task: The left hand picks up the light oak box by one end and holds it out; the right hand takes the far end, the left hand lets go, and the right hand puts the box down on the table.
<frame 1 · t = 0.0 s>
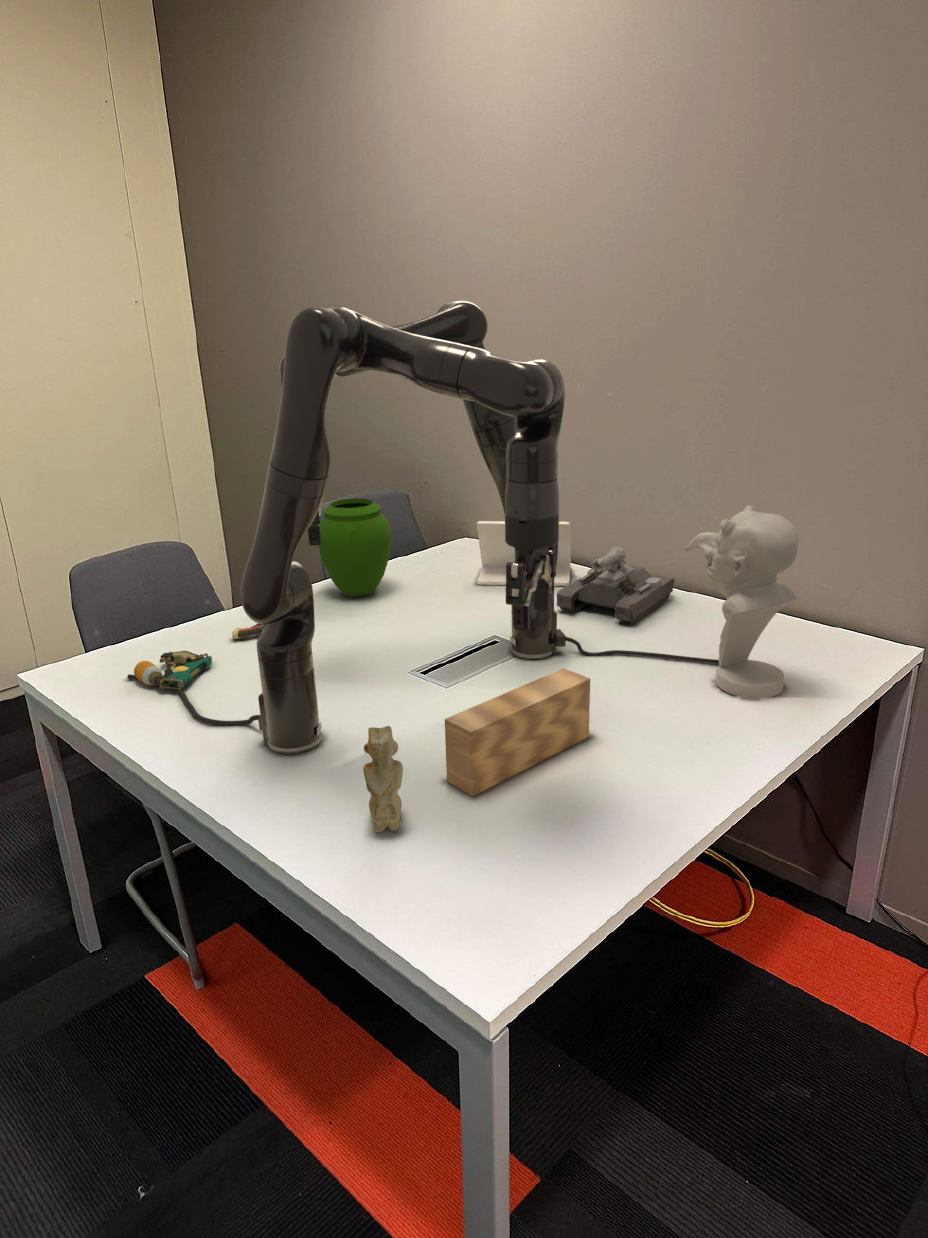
left hand: (531, 619, 124), 29 cm above the table, tool pointing down, fingers open, 8 cm apart
right hand: (314, 539, 170), 29 cm above the table, tool pointing down, fingers open, 8 cm apart
sculpture: (386, 823, 128), on the table
spray gun: (177, 676, 181), on the table
vase: (358, 593, 229), on the table
box: (521, 758, 145), on the table
toy: (615, 605, 214), on the table
tablet stand: (525, 575, 239), on the table
toy gun: (266, 627, 206), on the table
bust sculpture: (730, 681, 171), on the table
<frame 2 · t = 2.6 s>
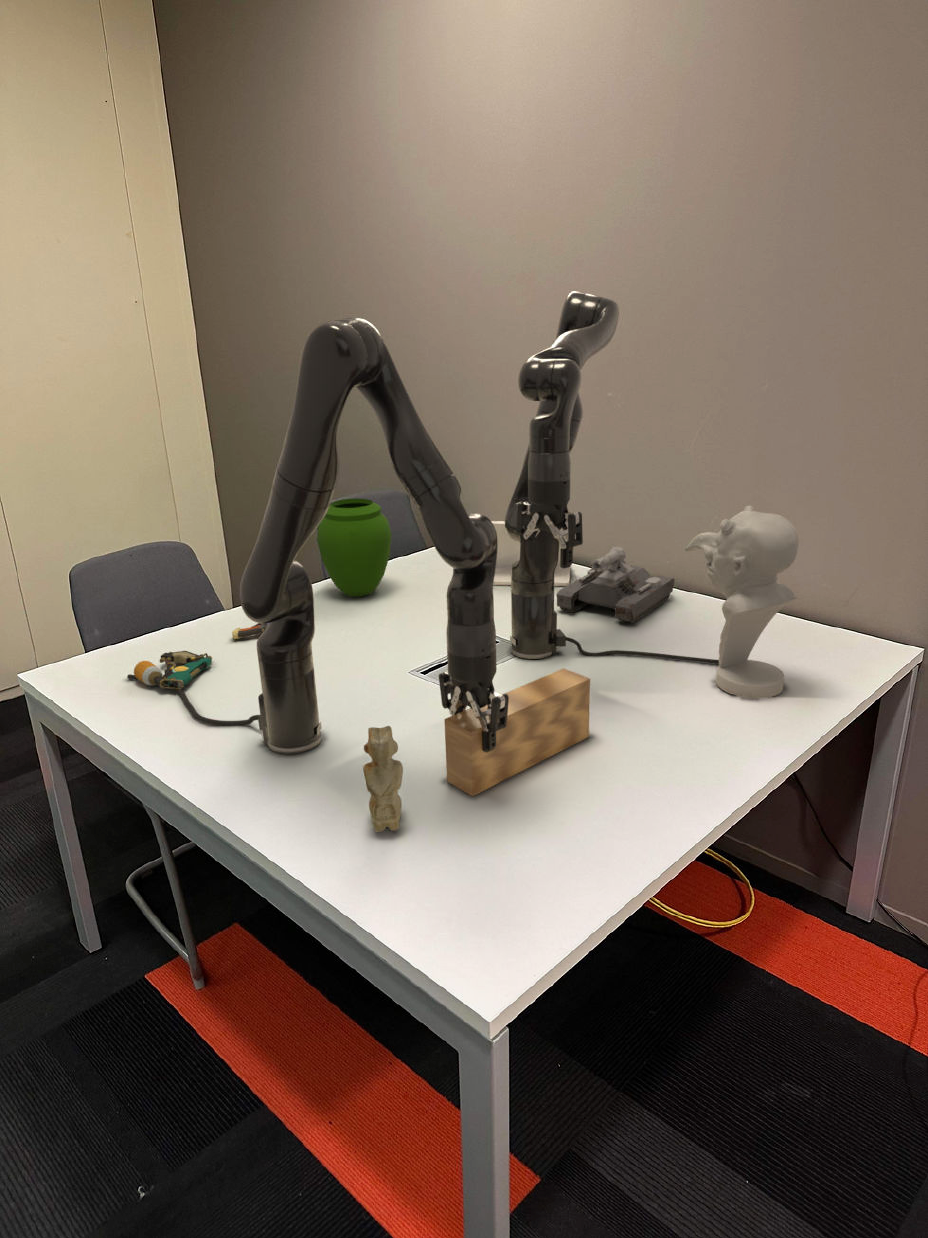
left hand: (474, 742, 136), 7 cm above the table, tool pointing down, fingers closed on box, 6 cm apart
right hand: (548, 562, 158), 27 cm above the table, tool pointing down, fingers open, 8 cm apart
box: (520, 758, 145), on the table, touching left hand
everything else where it was.
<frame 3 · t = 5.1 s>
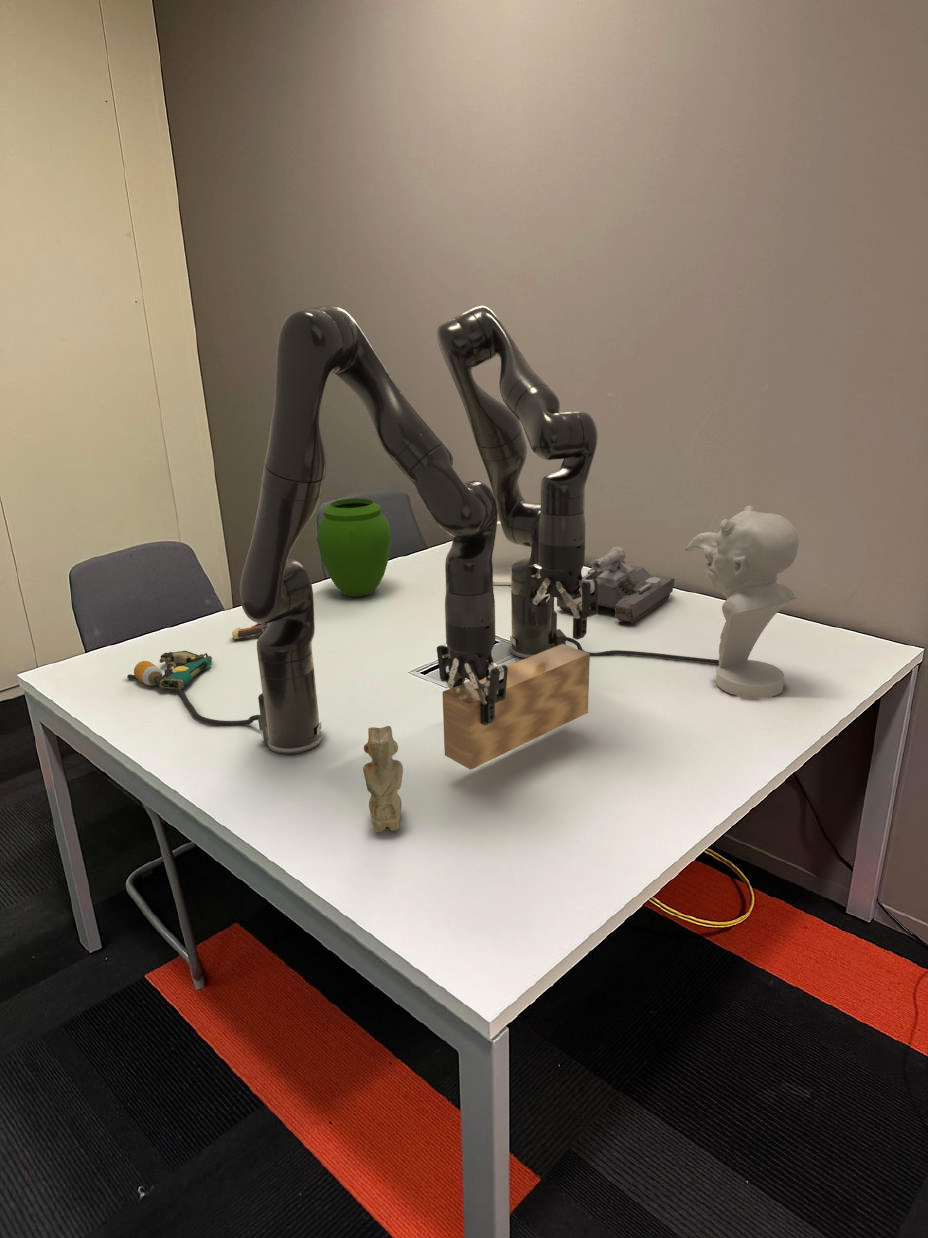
left hand: (472, 715, 134), 12 cm above the table, tool pointing down, fingers closed on box, 6 cm apart
right hand: (560, 631, 144), 20 cm above the table, tool pointing down, fingers open, 8 cm apart
box: (519, 733, 143), point 5 cm above the table, touching left hand
everything else where it was.
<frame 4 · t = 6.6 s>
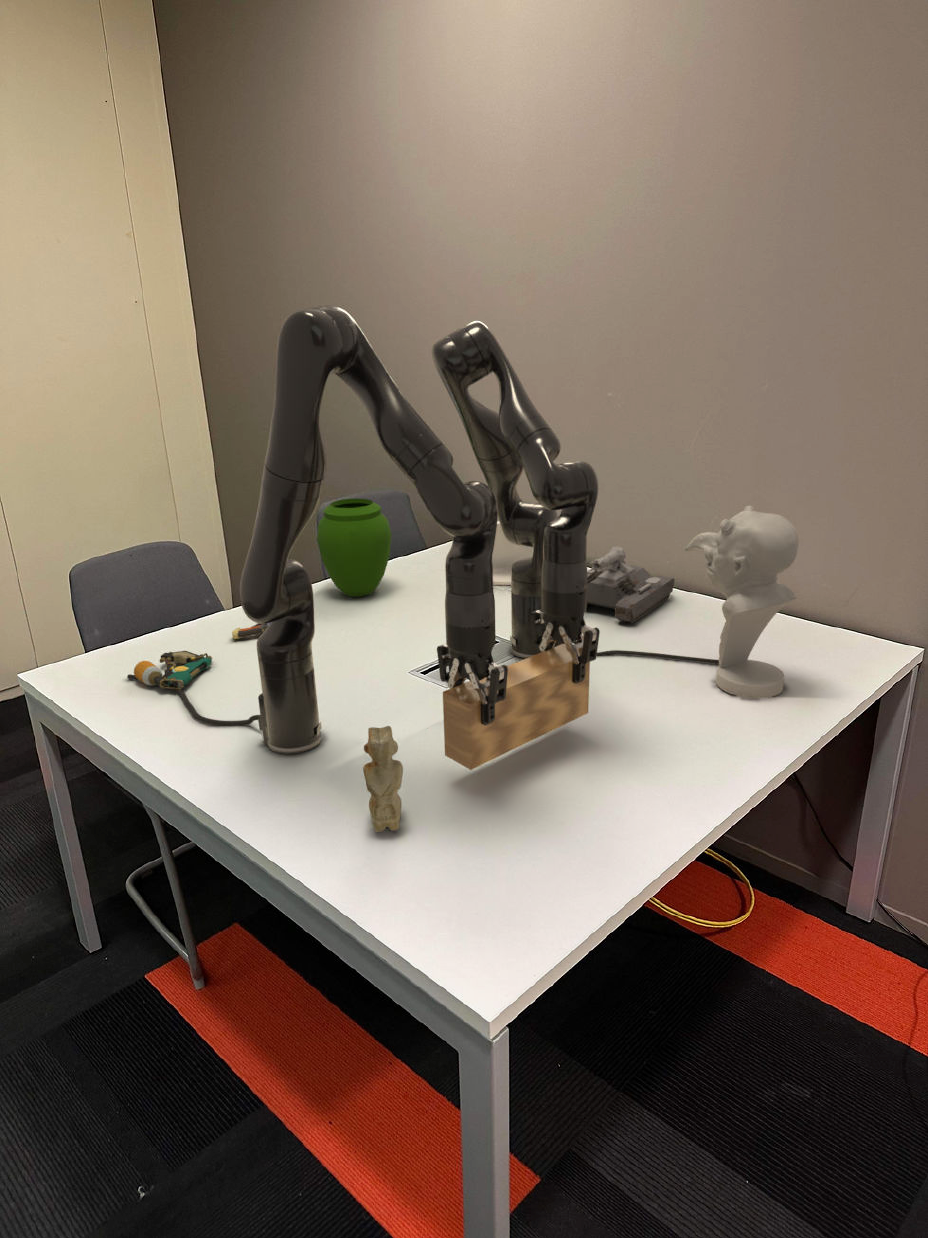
left hand: (472, 715, 134), 12 cm above the table, tool pointing down, fingers closed on box, 6 cm apart
right hand: (562, 675, 147), 12 cm above the table, tool pointing down, fingers closed on box, 6 cm apart
box: (519, 733, 143), point 5 cm above the table, touching right hand, left hand
everything else where it was.
when the left hand's fingers open (12 cm above the table, at t = 7.8 s): box moves 2 cm, held by the right hand.
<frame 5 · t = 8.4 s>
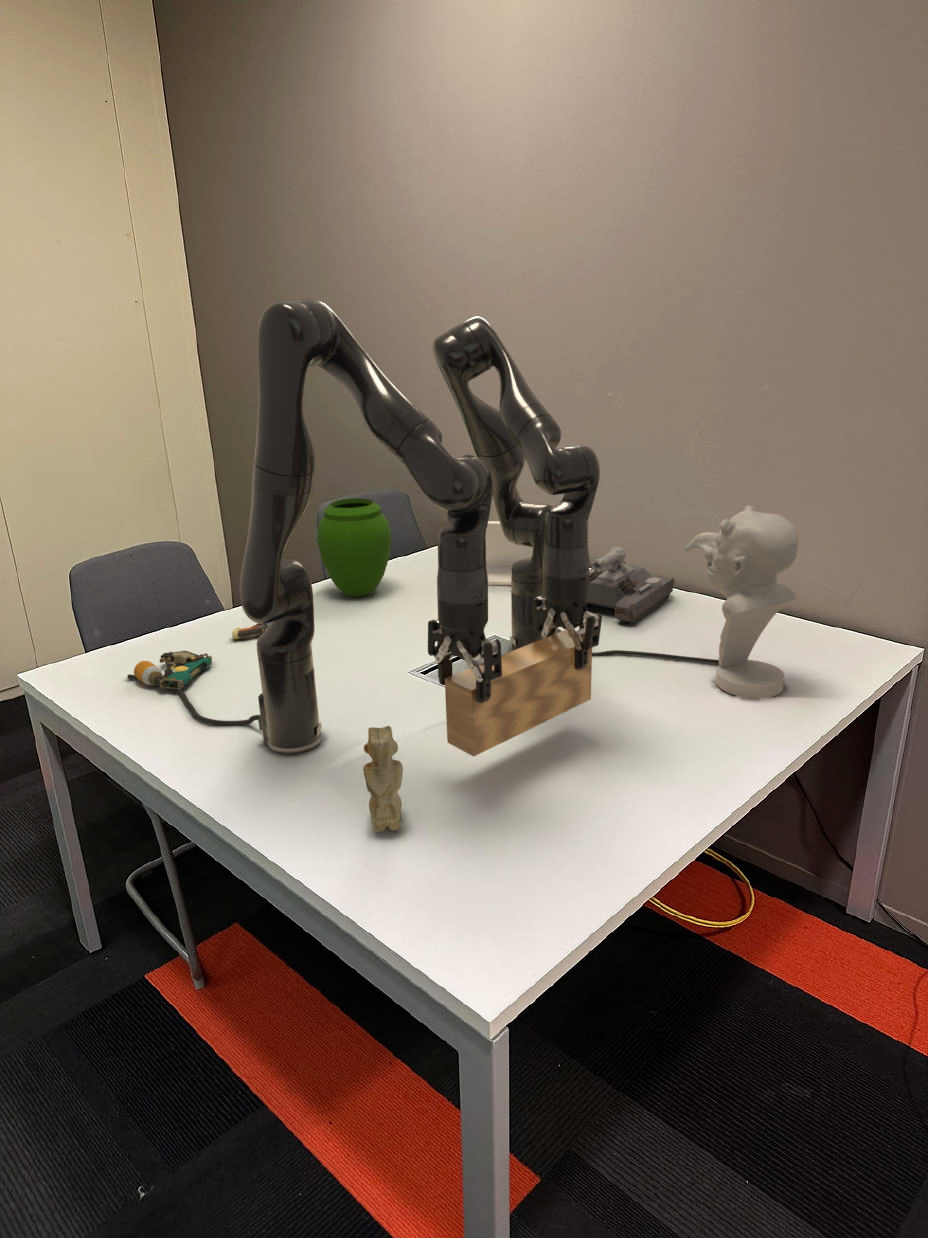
left hand: (464, 692, 132), 16 cm above the table, tool pointing down, fingers open, 8 cm apart
right hand: (565, 662, 146), 14 cm above the table, tool pointing down, fingers closed on box, 6 cm apart
box: (522, 720, 143), point 7 cm above the table, touching right hand
everything else where it was.
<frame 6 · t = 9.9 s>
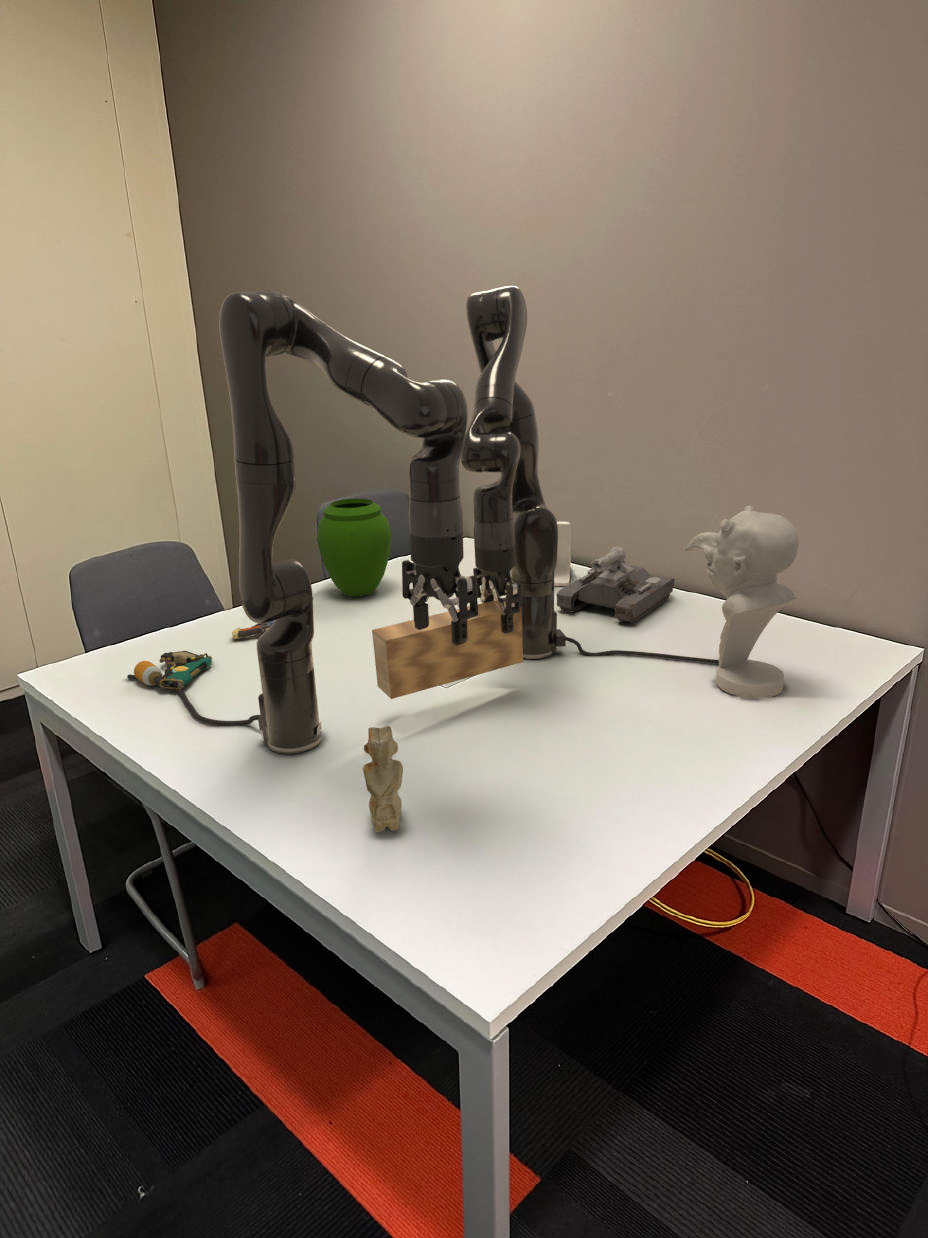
left hand: (440, 635, 125), 27 cm above the table, tool pointing down, fingers open, 8 cm apart
right hand: (498, 626, 163), 15 cm above the table, tool pointing down, fingers closed on box, 6 cm apart
box: (451, 674, 161), point 7 cm above the table, touching right hand
everything else where it was.
when the right hand's fingers open (9 cm above the table, at t = 13.4 s): box drops 1 cm, on the table.
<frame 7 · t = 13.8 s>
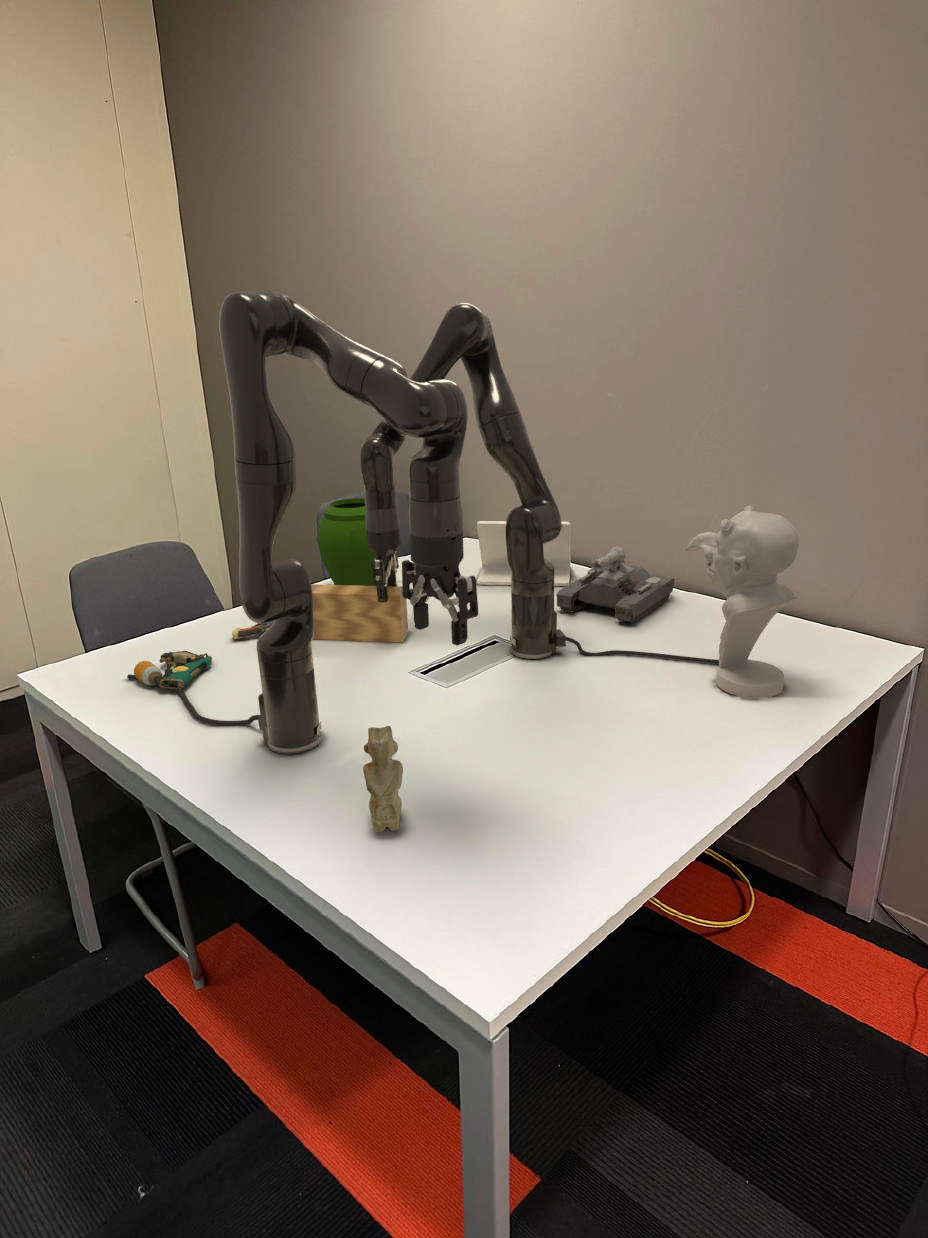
left hand: (440, 635, 125), 27 cm above the table, tool pointing down, fingers open, 8 cm apart
right hand: (387, 595, 195), 10 cm above the table, tool pointing down, fingers open, 8 cm apart
box: (347, 635, 200), on the table
everything else where it was.
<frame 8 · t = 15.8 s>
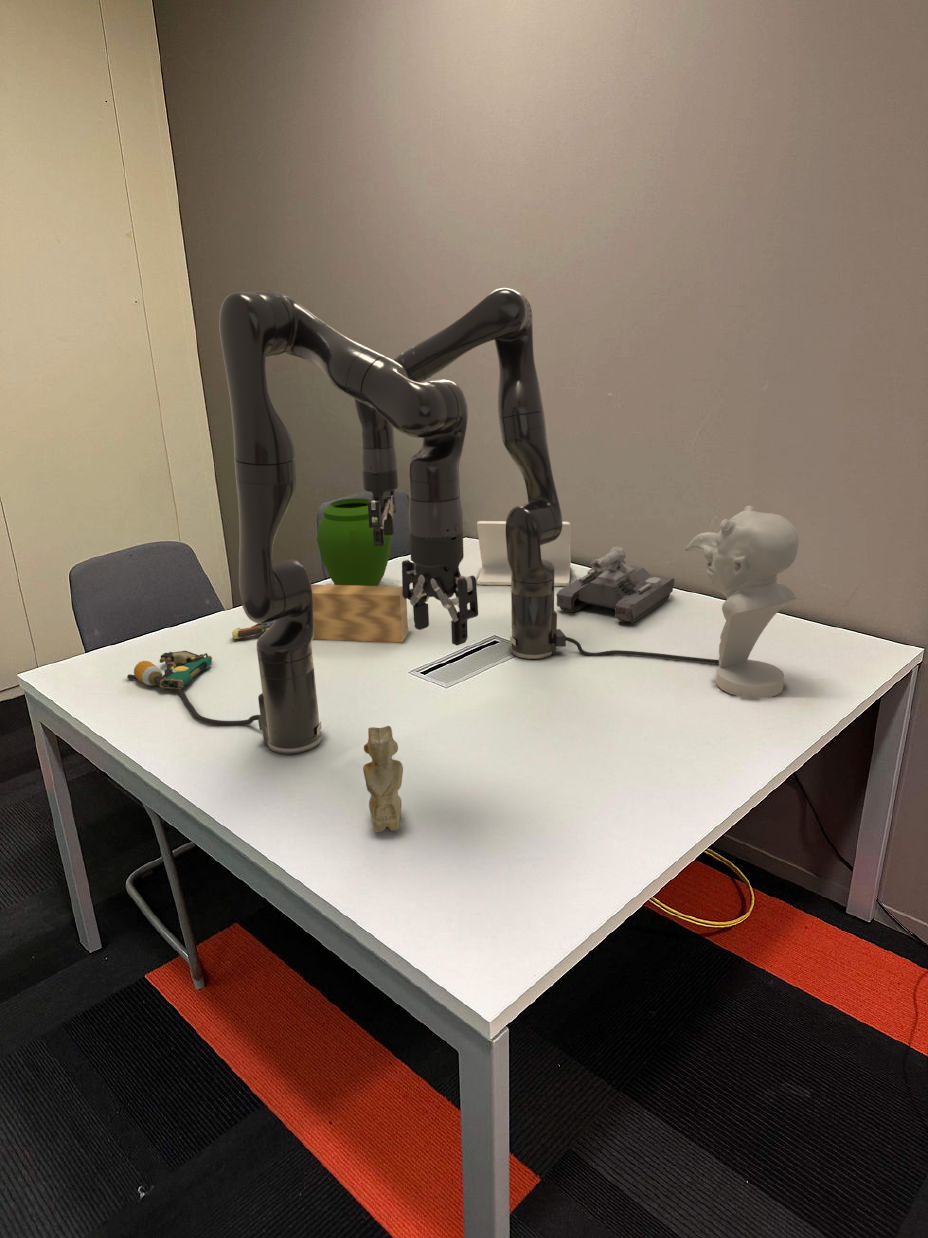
left hand: (440, 635, 125), 27 cm above the table, tool pointing down, fingers open, 8 cm apart
right hand: (384, 540, 190), 23 cm above the table, tool pointing down, fingers open, 8 cm apart
nothing on the table moved.
at the end: box inside the target area (10.3 cm from its centre), on the table; the left hand is holding nothing; the right hand is holding nothing; box at rest at the end (0.0 cm/s) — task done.
